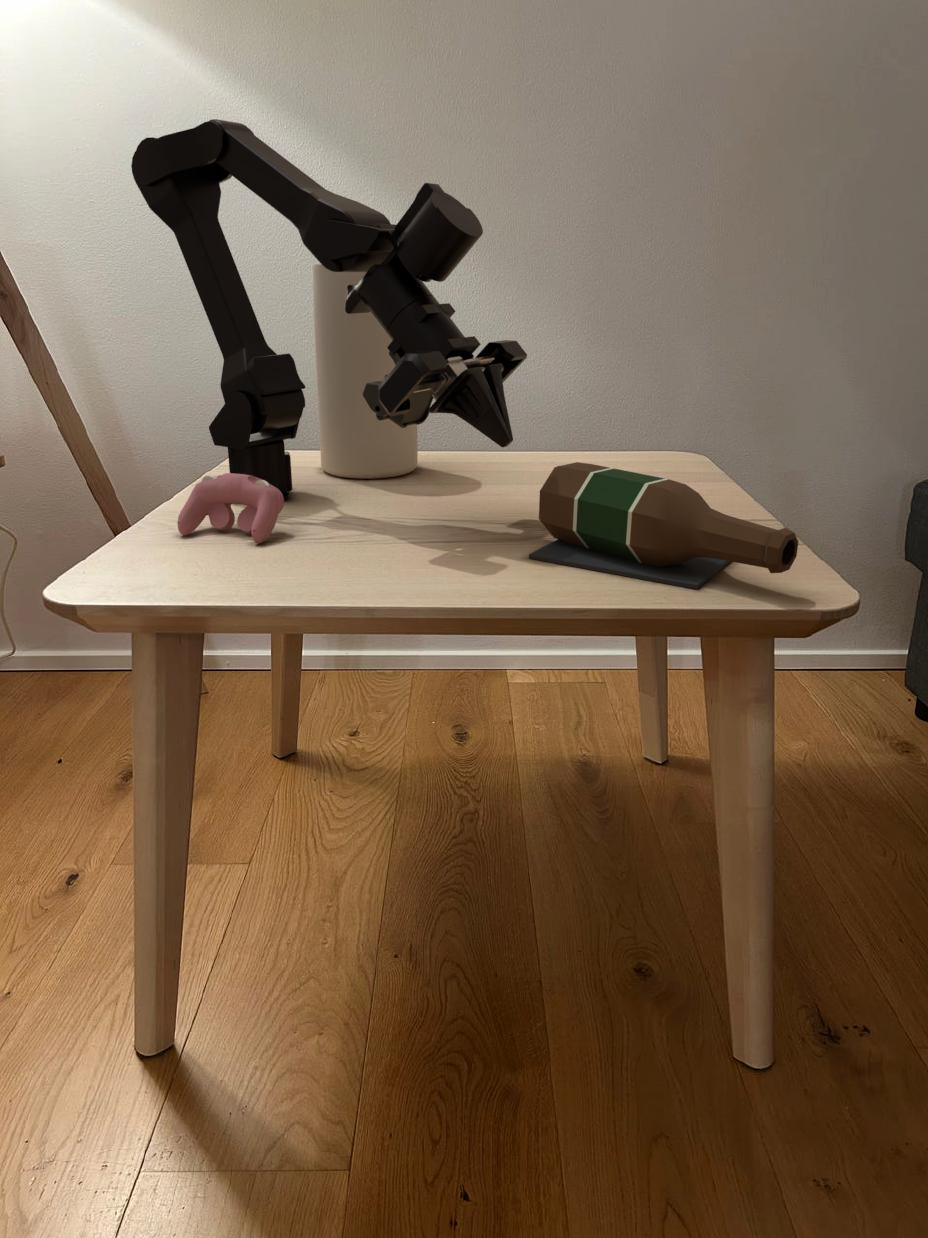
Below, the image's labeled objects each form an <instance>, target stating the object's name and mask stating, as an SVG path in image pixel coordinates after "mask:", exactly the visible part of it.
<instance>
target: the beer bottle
mask: <svg viewBox="0 0 928 1238" xmlns="http://www.w3.org/2000/svg"><path fill="white" fill-rule="evenodd" d="M538 505H539V506H538V520H539V521H540V523H541V524H542V525H543V527H544V528H545V529H546V530H547V531H548V533H549V534H550V535H551V536H552V538H554V539H556V540H558V539H559V540H562V541H564V542H567V543H571V544H574V545H578V546H582V547H585V548H589V549H592V550H596V551H600V552H603V553H607V554H611V555H614V556H618V557H621V558H625V559H629V560H632V561H636V562H639V563H643V564H649V565H654V566H668V565H676V564H679V563H682V562H685V561H688V560H691V559H693V558H696V557H702V558H714V559H720V560H725V561H731V562H730V563H737V564H741V565H742V564H743V565H748V566H753V567H759V568H764V569H768V572H769V573H770V574H782V573H784V572H787V571H790V569H791V567H792V566H793V564H794V562H795V560H796V558H797V556H798V548H799V542H800V541H799V539H798V538H797V535H796V533H795V531H792V530H790V529H789V528H787V527H783V528H780V529H776V528H773V527H770V526H765V525H762V524H759V523H756V522H752V521H748V520H745V519H741V518H738V517H735V516H733V515H732V516H731V515H728V514H725V513H722V512H720V511H718V510H716V509H713V508H712V507H710V505H709V504H708V503H707V501H706V500H705V499H704V498H703V496H702V495H701V494H700V493H699V492H698V491H696V490H695V489H693V488H692V487H690V486H689V485H688V484H687V483H683V482H680V481H676V480H672V479H669V478H664V477H659V476H654V475H650V474H644V473H639V472H634V471H630V470H624V469H619V468H614V467H608V466H604V465H599V464H595V463H594V464H593V463H586V462H578V461H576V462H572V463H567V464H562V465H557V466H554V467H553V469H552V471H551V472H550V474H549V476H548V477H547V478H546V480H545V482H544V483H543V485H542V487H541V488H540V490H539V502H538Z"/></svg>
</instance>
